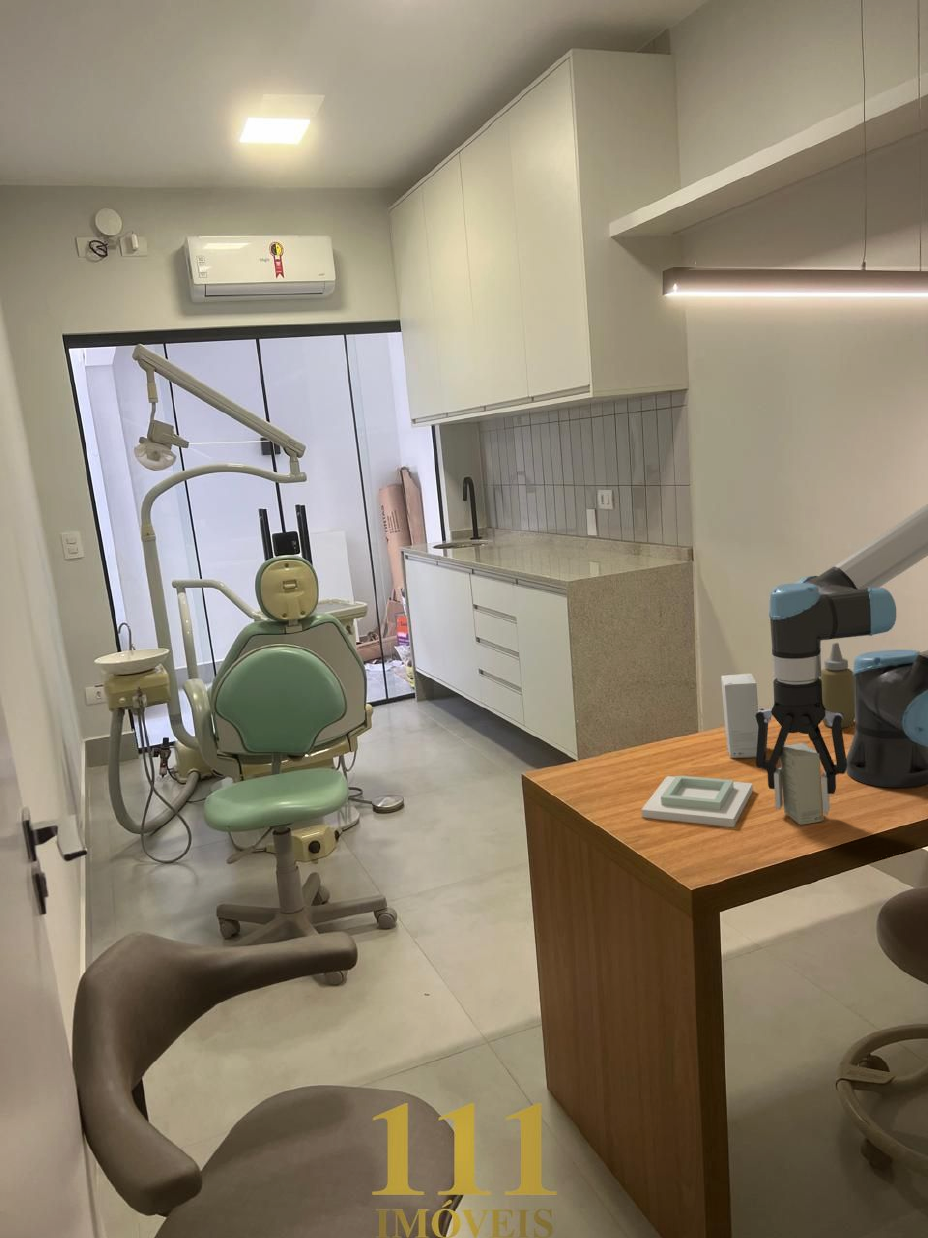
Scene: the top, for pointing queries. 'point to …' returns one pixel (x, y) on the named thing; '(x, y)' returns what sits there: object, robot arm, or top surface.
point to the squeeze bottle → (838, 687)
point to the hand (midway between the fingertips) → (802, 808)
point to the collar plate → (698, 800)
